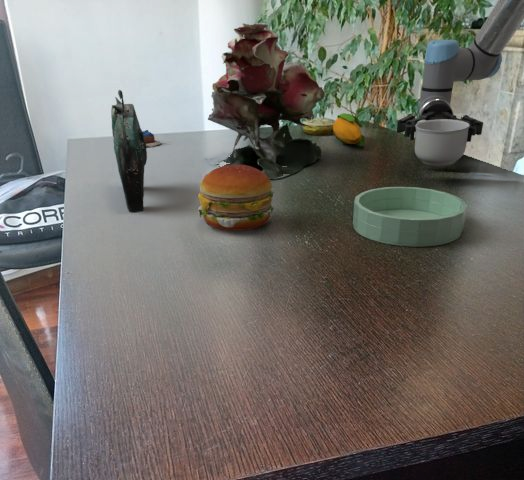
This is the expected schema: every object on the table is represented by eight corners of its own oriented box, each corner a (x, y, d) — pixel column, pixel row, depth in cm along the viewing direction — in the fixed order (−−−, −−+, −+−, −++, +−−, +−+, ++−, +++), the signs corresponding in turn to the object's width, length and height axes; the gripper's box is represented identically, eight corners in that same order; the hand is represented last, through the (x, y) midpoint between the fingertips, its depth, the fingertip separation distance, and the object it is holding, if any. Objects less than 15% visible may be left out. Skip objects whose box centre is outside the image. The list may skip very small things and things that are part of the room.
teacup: (472, 167, 118) (479, 126, 114) (423, 170, 117) (428, 129, 113) (443, 152, 130) (448, 115, 126) (398, 155, 129) (402, 117, 124)
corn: (354, 108, 162) (373, 120, 145) (354, 136, 166) (373, 151, 149) (328, 110, 162) (345, 123, 145) (329, 138, 166) (345, 154, 149)
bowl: (457, 213, 106) (461, 189, 103) (467, 250, 90) (472, 222, 88) (356, 208, 109) (358, 184, 107) (349, 242, 94) (350, 216, 91)
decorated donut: (343, 131, 173) (344, 118, 171) (325, 137, 165) (326, 123, 163) (314, 127, 178) (315, 115, 176) (295, 133, 171) (296, 120, 169)
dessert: (125, 143, 157) (131, 123, 157) (136, 153, 164) (141, 134, 164) (151, 147, 155) (156, 127, 155) (161, 157, 162) (166, 137, 162)
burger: (266, 238, 96) (266, 178, 91) (189, 233, 98) (184, 175, 93) (279, 212, 107) (279, 158, 102) (209, 209, 109) (206, 155, 104)
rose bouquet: (331, 154, 147) (337, 20, 131) (281, 182, 125) (282, 25, 109) (244, 145, 157) (240, 20, 141) (184, 170, 135) (172, 24, 119)
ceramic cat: (120, 185, 124) (106, 85, 114) (150, 183, 125) (139, 84, 115) (120, 214, 107) (103, 99, 97) (154, 211, 109) (141, 97, 98)
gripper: (483, 134, 136) (496, 154, 118) (385, 131, 141) (382, 151, 122) (489, 100, 133) (503, 116, 114) (388, 98, 137) (386, 113, 118)
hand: (441, 134), depth 118 cm, fingers closed on teacup, 11 cm apart
